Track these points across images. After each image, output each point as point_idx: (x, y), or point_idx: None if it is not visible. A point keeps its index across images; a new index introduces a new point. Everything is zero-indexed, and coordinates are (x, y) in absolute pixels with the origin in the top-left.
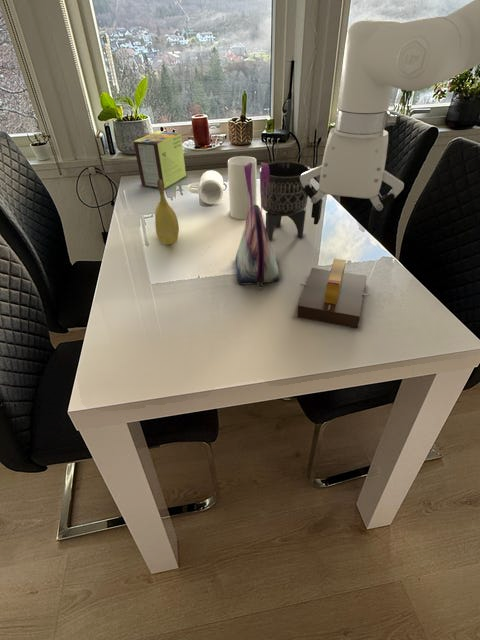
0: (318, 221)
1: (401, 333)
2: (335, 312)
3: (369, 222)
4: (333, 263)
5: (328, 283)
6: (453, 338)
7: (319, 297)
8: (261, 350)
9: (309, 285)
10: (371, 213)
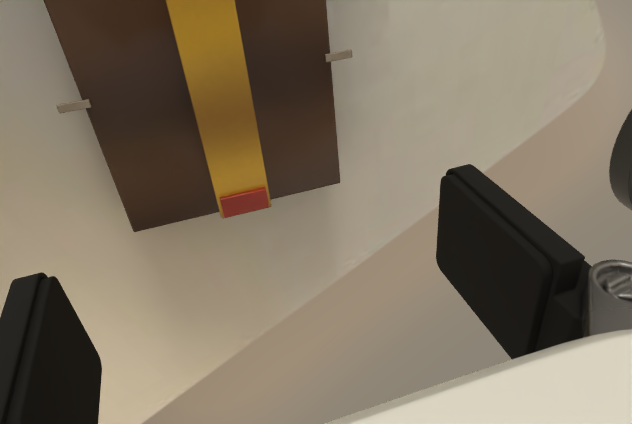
0: (87, 342)
1: (440, 119)
2: None
3: (469, 301)
4: (181, 48)
5: (226, 215)
6: (564, 73)
7: (181, 155)
8: (125, 349)
9: (100, 96)
10: (511, 353)
